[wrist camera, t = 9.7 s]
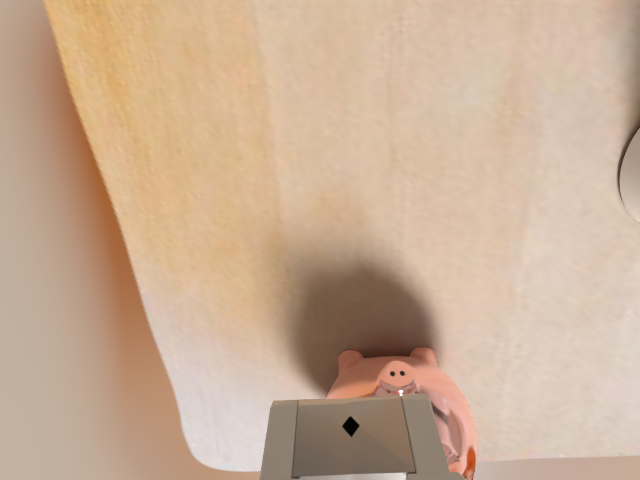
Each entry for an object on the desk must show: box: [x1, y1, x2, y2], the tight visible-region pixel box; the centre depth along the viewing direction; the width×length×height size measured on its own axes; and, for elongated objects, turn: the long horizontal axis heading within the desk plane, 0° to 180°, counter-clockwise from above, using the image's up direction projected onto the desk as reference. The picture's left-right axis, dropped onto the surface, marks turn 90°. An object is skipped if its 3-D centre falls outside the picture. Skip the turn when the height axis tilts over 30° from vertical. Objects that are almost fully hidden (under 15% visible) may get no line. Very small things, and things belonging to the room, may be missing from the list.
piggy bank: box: [326, 347, 478, 480], centre depth 42 cm, size 15×18×16 cm
